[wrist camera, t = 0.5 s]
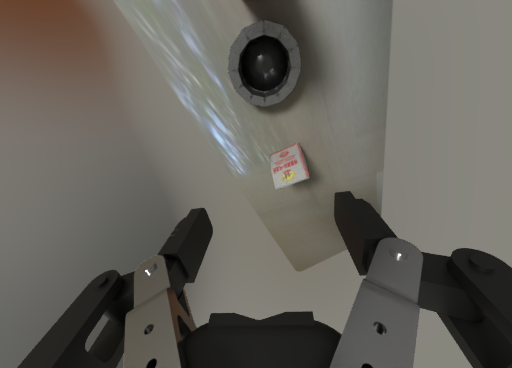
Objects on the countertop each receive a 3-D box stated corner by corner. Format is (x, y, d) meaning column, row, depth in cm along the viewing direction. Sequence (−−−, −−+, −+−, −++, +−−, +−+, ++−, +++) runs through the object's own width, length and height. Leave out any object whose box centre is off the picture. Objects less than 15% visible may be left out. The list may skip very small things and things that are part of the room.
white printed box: (304, 155, 41) (312, 184, 34) (277, 166, 44) (279, 195, 36) (298, 142, 39) (306, 170, 32) (270, 154, 42) (271, 183, 34)
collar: (218, 68, 31) (214, 71, 28) (263, -1, 25) (262, -3, 23) (265, 112, 35) (265, 118, 33) (311, 63, 30) (315, 66, 27)
